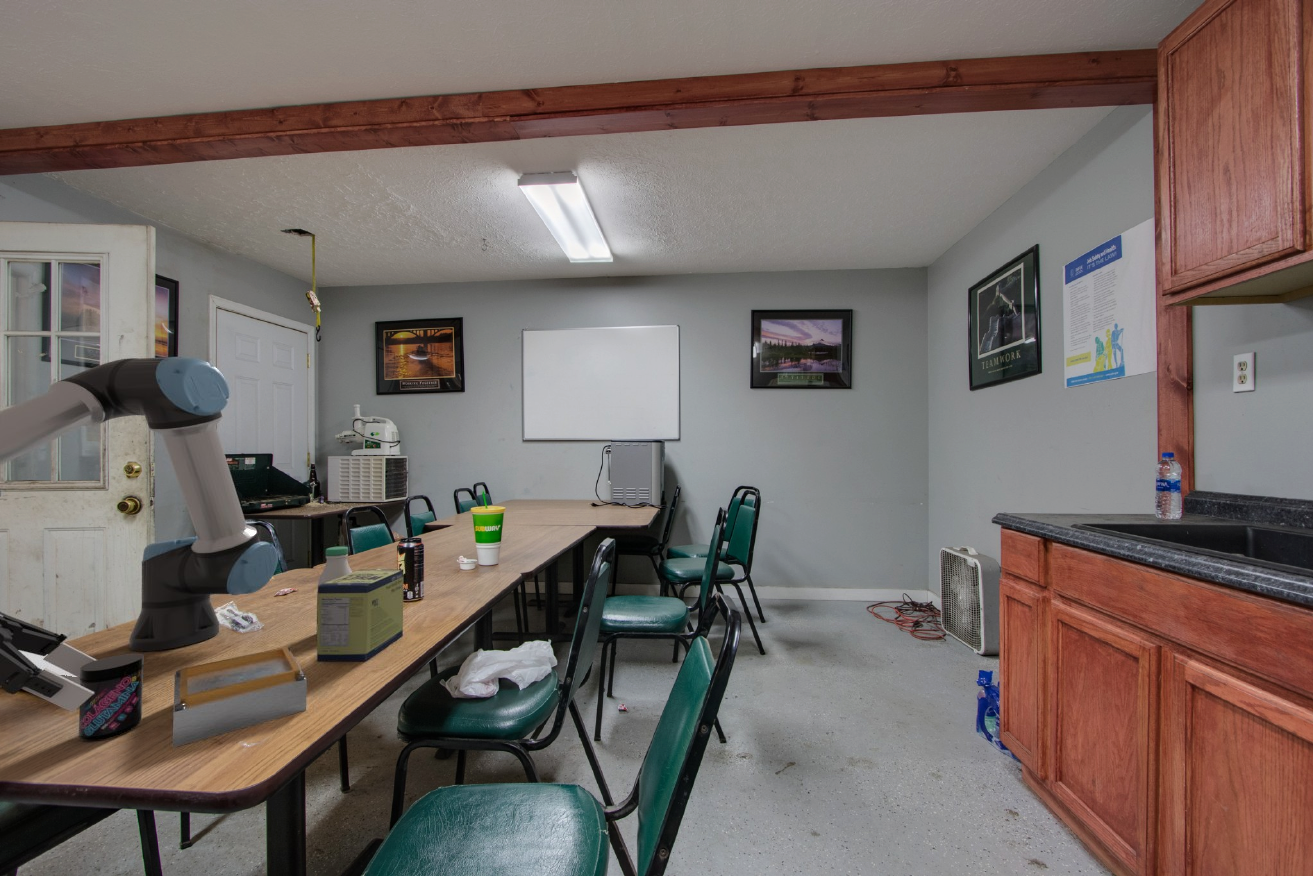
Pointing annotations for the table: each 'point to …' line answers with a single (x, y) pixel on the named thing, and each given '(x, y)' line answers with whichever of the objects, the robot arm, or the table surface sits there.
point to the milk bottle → (334, 566)
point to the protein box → (359, 615)
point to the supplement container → (111, 696)
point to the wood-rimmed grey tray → (236, 694)
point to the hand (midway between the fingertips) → (90, 686)
